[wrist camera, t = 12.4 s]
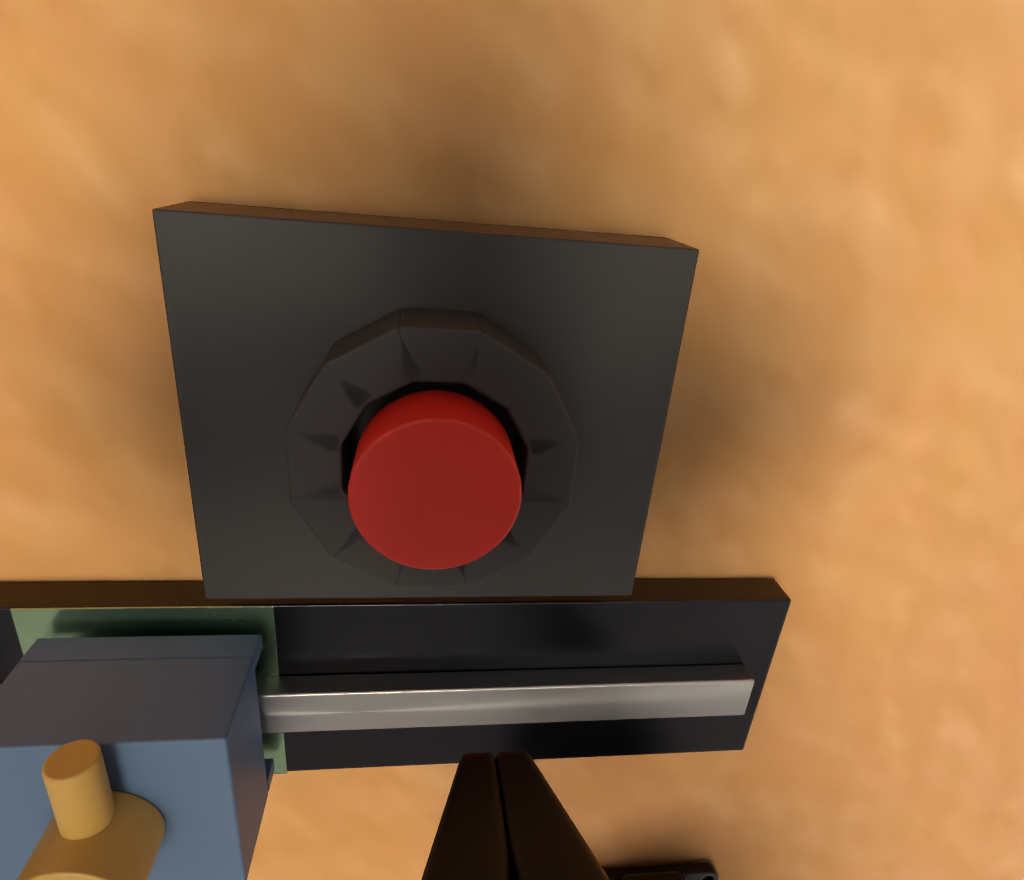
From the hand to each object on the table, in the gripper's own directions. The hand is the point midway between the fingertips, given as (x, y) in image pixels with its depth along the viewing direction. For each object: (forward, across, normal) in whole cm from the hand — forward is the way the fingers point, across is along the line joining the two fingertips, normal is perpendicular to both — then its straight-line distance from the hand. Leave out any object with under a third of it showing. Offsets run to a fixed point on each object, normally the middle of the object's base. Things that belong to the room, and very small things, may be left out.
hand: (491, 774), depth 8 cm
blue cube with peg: (+10, +8, +9) cm, 16 cm away
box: (+11, +1, -1) cm, 11 cm away
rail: (+11, +3, +9) cm, 15 cm away
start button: (+8, +1, -1) cm, 8 cm away
